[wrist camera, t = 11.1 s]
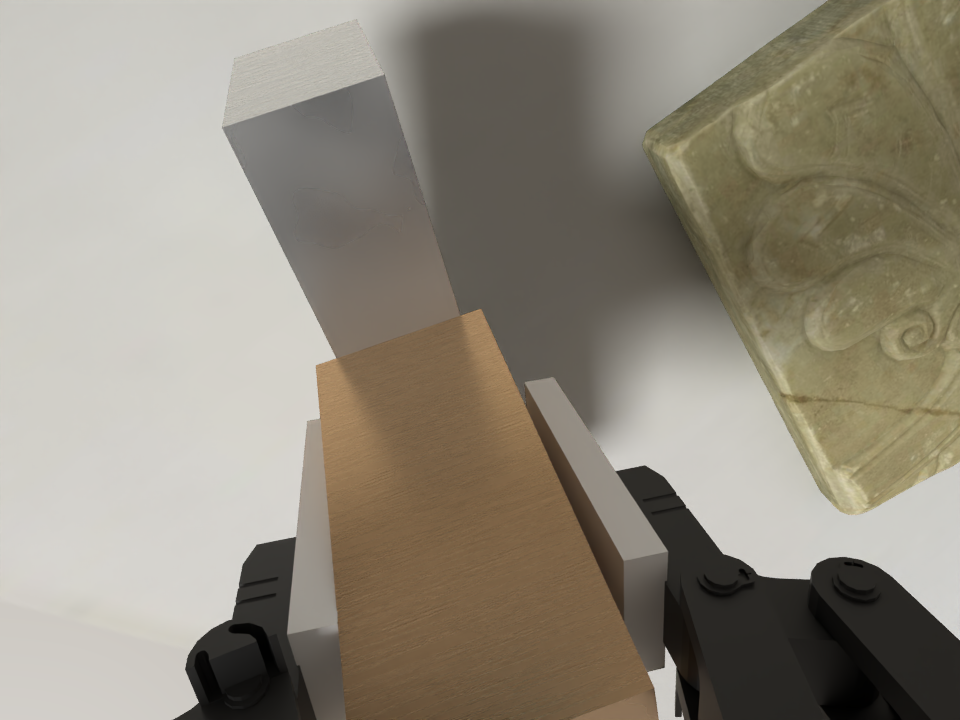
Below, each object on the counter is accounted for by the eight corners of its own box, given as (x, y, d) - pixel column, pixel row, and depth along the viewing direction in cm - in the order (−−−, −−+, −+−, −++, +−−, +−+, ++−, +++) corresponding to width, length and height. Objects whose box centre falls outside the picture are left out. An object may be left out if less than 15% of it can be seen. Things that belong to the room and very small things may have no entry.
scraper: (213, 65, 15) (80, 561, 5) (377, 12, 16) (609, 375, 5) (413, 485, 26) (515, 945, 15) (510, 451, 26) (681, 880, 15)
